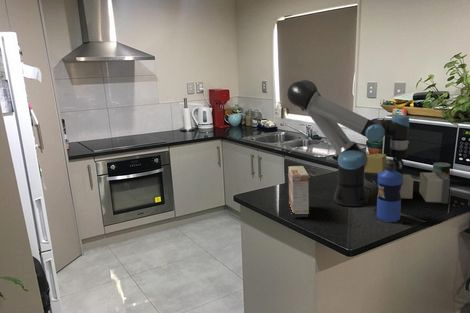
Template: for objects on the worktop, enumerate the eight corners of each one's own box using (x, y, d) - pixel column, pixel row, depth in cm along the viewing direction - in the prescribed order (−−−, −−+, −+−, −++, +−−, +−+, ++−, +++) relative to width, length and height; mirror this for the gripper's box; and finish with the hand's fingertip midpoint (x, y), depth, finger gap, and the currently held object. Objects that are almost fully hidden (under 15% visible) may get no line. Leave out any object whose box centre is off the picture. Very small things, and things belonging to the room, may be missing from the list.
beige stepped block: (426, 202, 168) (428, 179, 165) (418, 191, 183) (420, 169, 181) (448, 203, 165) (450, 179, 163) (438, 191, 181) (440, 169, 178)
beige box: (391, 197, 176) (392, 177, 174) (389, 193, 182) (390, 173, 179) (412, 198, 174) (413, 177, 171) (409, 194, 179) (410, 174, 177)
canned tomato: (445, 188, 186) (447, 167, 183) (429, 185, 191) (430, 164, 189) (451, 184, 191) (453, 163, 188) (435, 181, 196) (436, 161, 194)
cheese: (368, 168, 229) (369, 152, 227) (386, 170, 223) (387, 154, 221) (363, 172, 221) (363, 156, 219) (382, 174, 215) (382, 157, 212)
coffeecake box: (288, 206, 172) (287, 166, 168) (304, 205, 172) (303, 165, 168) (292, 219, 158) (291, 175, 153) (309, 218, 157) (309, 174, 153)
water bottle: (394, 213, 157) (397, 156, 152) (404, 222, 148) (407, 162, 143) (372, 214, 157) (374, 158, 152) (381, 223, 148) (383, 163, 143)
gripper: (411, 152, 163) (408, 202, 168) (403, 144, 181) (401, 189, 186) (393, 152, 165) (391, 201, 170) (387, 144, 183) (385, 188, 188)
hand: (396, 195), depth 178 cm, fingers closed on beige box, 6 cm apart
